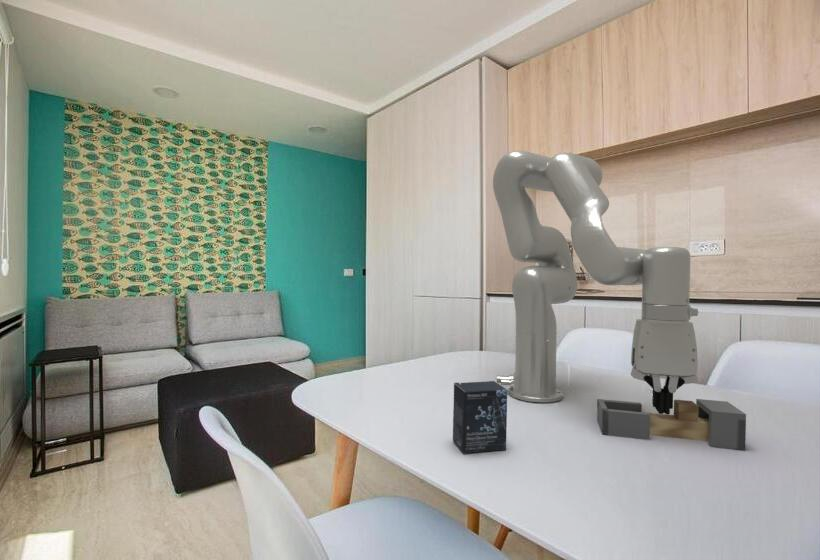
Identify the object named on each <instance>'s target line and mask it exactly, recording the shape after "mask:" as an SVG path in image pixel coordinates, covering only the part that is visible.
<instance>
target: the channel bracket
mask: <svg viewBox="0 0 820 560" xmlns="http://www.w3.org/2000/svg"><path fill="white" fill-rule="evenodd" d="M695 400H696V401H695V402H696V403H695V404H696V405H698V418H708V419H709V435H708V441H707V444H708V445H709V446H710V447H712V448H720V449H729V450H736V451H737V450H739V451H746V440H747V439H746V436H747V435H746V434H747V431H746V430H747V414H746V413H745V412H744V411H742V410H741V409H740V408H738V407H736V406H734V405H733V404H731V403H730V402H729V401H727V400H726V401H725V400H714V399H701V398H696V399H695Z"/></svg>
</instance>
